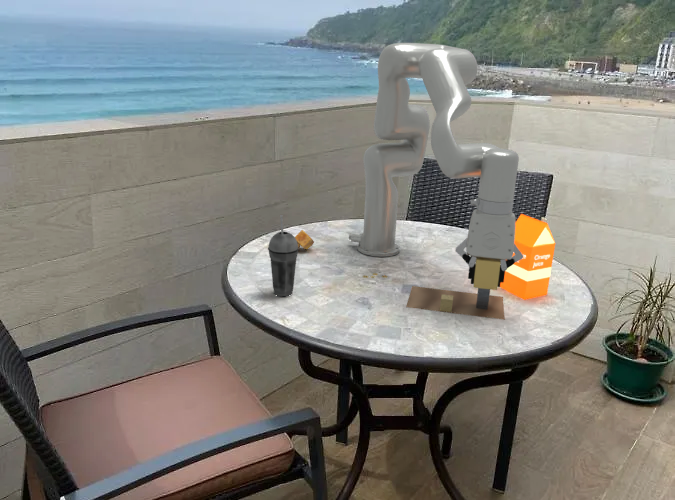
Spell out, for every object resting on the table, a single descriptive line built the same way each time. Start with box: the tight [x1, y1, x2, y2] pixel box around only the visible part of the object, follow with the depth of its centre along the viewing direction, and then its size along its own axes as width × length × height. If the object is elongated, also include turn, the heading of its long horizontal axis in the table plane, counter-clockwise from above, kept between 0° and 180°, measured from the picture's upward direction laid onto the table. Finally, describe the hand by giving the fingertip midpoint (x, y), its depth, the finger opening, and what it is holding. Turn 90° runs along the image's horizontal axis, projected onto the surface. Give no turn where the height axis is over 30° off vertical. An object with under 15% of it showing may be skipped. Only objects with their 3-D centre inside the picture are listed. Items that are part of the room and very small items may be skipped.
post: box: [476, 288, 491, 310], centre depth 135 cm, size 3×3×6 cm
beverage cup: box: [267, 214, 300, 297], centre depth 139 cm, size 7×7×20 cm
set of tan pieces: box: [362, 272, 388, 279], centre depth 152 cm, size 5×5×2 cm
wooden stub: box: [439, 295, 453, 313], centre depth 134 cm, size 3×3×3 cm
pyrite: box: [294, 229, 315, 250], centre depth 172 cm, size 5×7×4 cm
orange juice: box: [499, 213, 556, 301], centre depth 143 cm, size 8×9×20 cm
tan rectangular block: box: [472, 257, 501, 291], centre depth 133 cm, size 5×5×7 cm
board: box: [405, 285, 506, 321], centre depth 139 cm, size 22×13×1 cm, turn 77°
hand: (485, 282), depth 134 cm, fingers closed on tan rectangular block, 5 cm apart
